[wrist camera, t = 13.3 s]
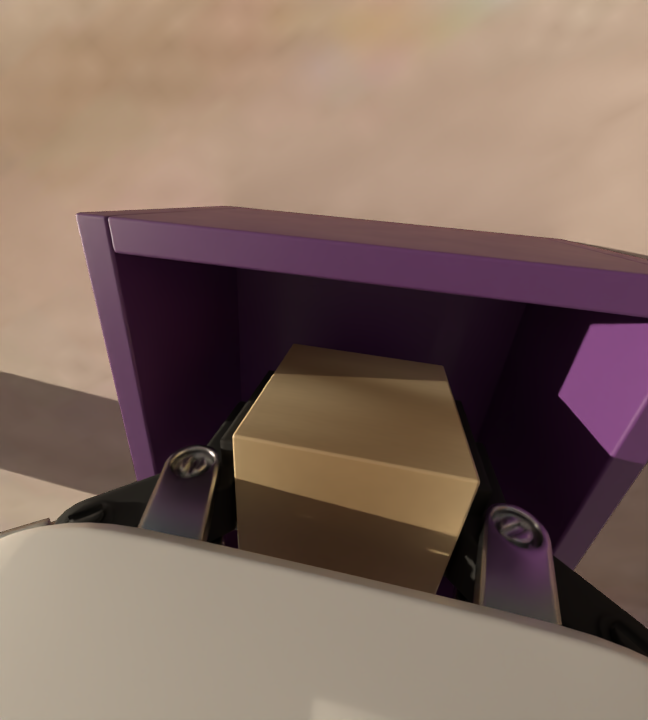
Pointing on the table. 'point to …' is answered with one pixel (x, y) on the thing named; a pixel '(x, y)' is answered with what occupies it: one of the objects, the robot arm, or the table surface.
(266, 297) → the purple lidded box
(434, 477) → the block
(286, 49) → the table surface
